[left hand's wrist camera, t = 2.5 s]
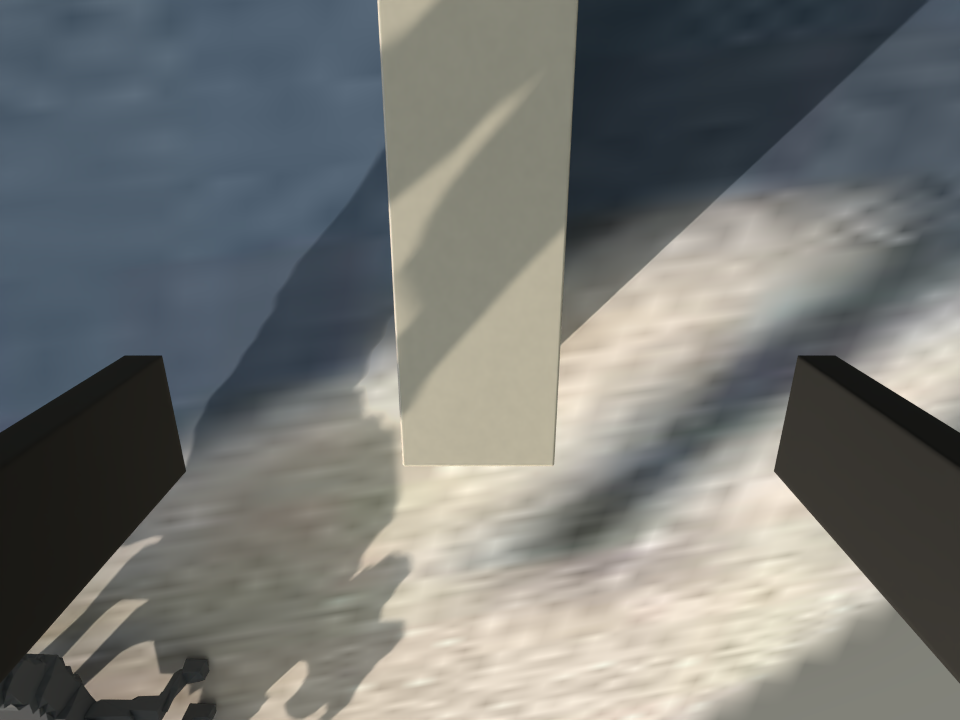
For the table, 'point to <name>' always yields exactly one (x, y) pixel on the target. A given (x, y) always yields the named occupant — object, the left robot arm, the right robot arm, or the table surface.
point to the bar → (478, 222)
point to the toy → (87, 694)
